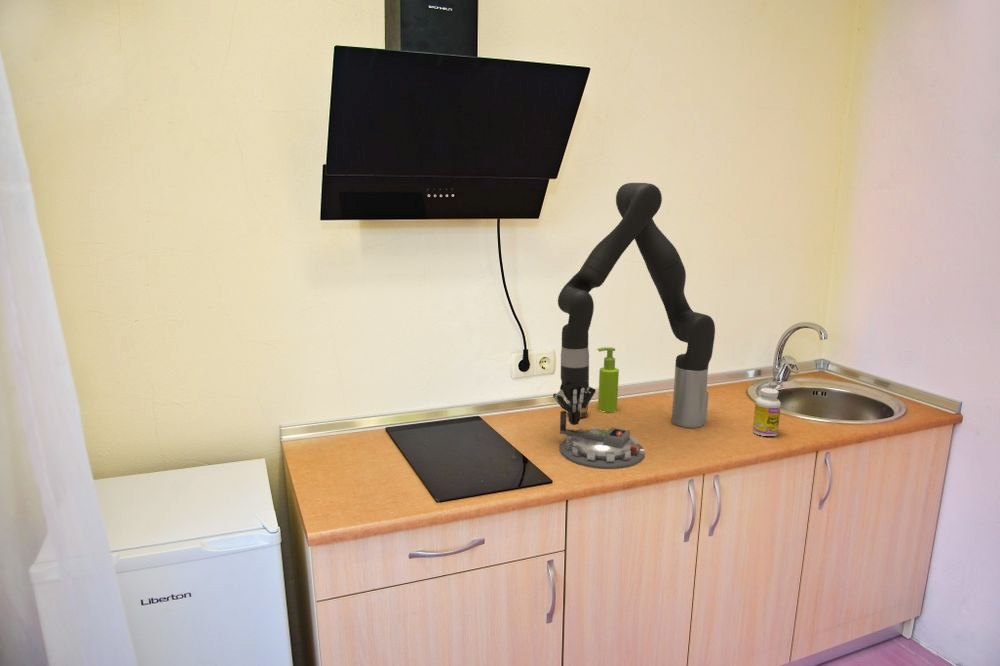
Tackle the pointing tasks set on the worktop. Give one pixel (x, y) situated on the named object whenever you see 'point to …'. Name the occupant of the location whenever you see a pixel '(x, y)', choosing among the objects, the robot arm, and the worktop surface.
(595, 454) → the sprocket
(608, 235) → the robot arm
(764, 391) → the supplement bottle
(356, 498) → the worktop surface
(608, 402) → the soap dispenser
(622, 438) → the chain link
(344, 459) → the worktop surface
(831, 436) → the worktop surface
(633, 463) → the sprocket base
